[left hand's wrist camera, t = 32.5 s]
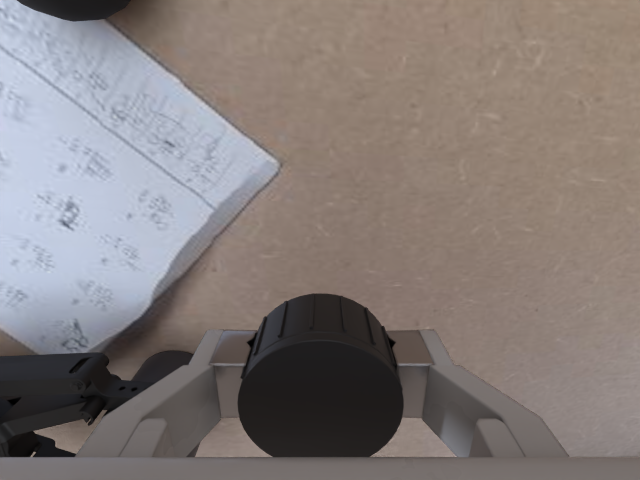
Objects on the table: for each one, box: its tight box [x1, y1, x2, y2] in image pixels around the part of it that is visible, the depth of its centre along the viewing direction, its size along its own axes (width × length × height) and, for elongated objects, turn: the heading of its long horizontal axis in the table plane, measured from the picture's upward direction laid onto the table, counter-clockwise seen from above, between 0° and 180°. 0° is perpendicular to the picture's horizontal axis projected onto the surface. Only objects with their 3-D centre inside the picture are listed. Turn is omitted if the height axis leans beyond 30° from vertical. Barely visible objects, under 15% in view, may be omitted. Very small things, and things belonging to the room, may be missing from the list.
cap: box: [237, 294, 404, 457], centre depth 9 cm, size 4×4×2 cm
